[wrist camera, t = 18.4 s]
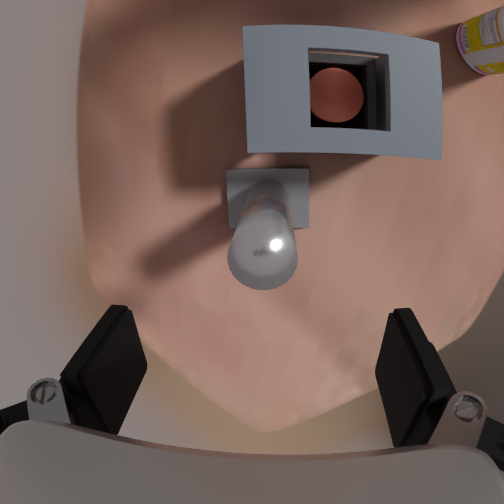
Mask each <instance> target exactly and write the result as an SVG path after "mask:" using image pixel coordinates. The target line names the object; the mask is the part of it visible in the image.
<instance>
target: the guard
mask: <svg viewBox="0 0 504 504" xmlns="http://www.w3.org/2000/svg"><path fill="white" fill-rule="evenodd" d="M242 28H243V53H244V78H245V102H246V127H247V152H248V153H272V152H316V153H351V154H372V155H388V156H402V157H413V158H424V159H434V160H441V151H442V77H441V61H440V49H439V43H437V42H433V41H429V40H424V39H420V38H415V37H410V36H405V35H399V34H393V33H387V32H381V31H373V30H366V29H357V28H347V27H335V26H319V25H253V26H242ZM308 51H331V52H345V53H357V54H367V55H375V56H380V57H378V58H376V74H375V58H369V57H359V56H348V55H335V54H315V53H308ZM309 68H319V69H327V68H340V69H343V70H352V71H357V80H358V81H359V83H360V85H361V87H362V90H363V96H364V97H363V104H362V107H361V109H360V111H359V112H358V129H351V128H328V127H311V120H310V85H309ZM376 77H377V110H376Z"/></svg>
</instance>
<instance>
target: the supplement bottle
mask: <svg viewBox="0 0 504 504" xmlns="http://www.w3.org/2000/svg"><path fill="white" fill-rule="evenodd" d="M456 41H457V46H458V49H459V52H460V54H461V56H462V57H463V59H464V60H465V62H466V63H467V64H468V65H469V66H470V67H471V68H472V69H473V70H475V71H477V72H478V73H481V74H485V75H491V74H501V73H504V6H502V7H499V8H497V9H494V10H492V11H489V12H486V13H484V14H481V15H479V16H477V17H474V18H472V19H469V20H467V21H465V22H463V23H462V24H461V25H460V26H459V28H458V30H457V34H456Z"/></svg>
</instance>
